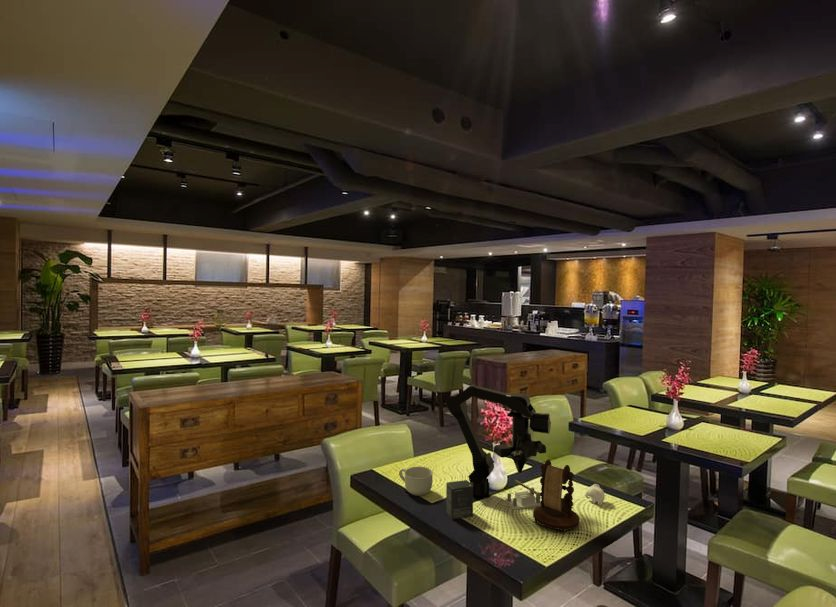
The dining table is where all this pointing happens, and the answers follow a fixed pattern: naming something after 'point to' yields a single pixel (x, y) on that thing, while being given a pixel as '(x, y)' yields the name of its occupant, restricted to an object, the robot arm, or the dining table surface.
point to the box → (459, 499)
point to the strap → (525, 486)
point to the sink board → (524, 500)
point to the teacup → (417, 480)
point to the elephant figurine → (595, 494)
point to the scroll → (556, 499)
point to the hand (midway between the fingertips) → (519, 472)
